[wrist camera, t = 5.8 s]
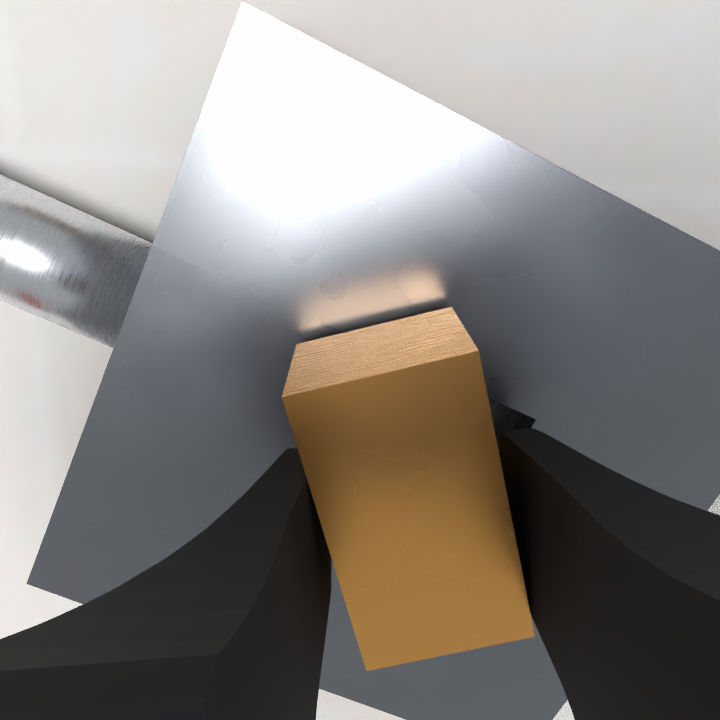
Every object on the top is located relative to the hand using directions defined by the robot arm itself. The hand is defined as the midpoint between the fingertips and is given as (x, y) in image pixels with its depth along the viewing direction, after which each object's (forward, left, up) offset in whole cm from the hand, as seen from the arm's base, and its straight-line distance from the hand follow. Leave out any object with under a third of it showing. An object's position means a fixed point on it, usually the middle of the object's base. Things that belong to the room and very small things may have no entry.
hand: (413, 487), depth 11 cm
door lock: (+3, 0, -4) cm, 5 cm away
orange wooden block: (0, 0, -5) cm, 5 cm away
